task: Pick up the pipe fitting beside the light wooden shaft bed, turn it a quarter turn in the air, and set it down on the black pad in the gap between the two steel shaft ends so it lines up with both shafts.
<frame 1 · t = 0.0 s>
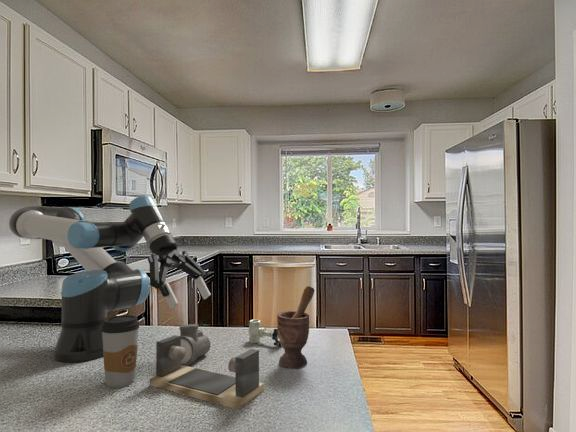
hand: (191, 301, 109), 15 cm above the countertop, fingers open, 13 cm apart
valve: (264, 344, 119), on the countertop
shaft bed: (205, 387, 87), on the countertop
coffee cup: (120, 383, 90), on the countertop
mortar and pestle: (296, 362, 103), on the countertop
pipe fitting: (192, 361, 104), on the countertop
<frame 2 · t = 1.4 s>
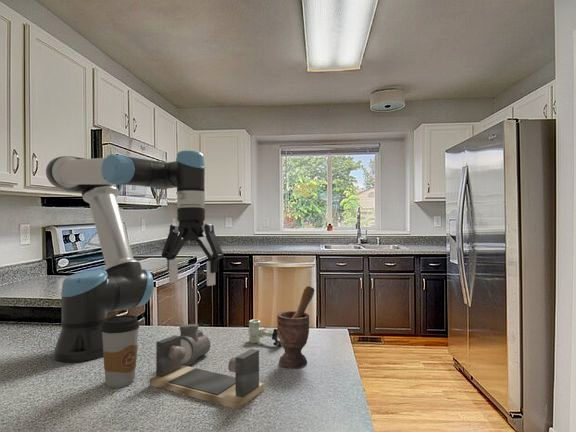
hand: (191, 283, 105), 21 cm above the countertop, fingers open, 13 cm apart
nothing on the countertop moved.
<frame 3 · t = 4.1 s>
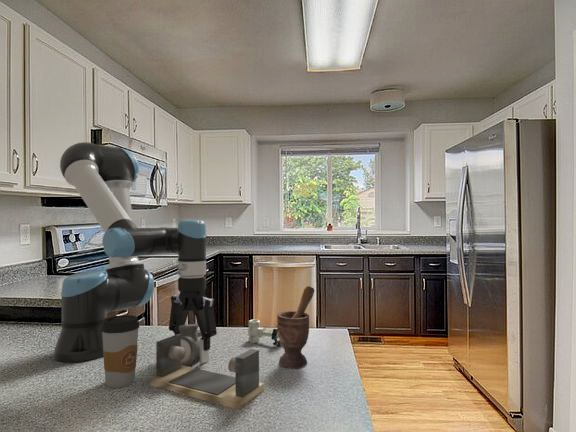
hand: (192, 359, 104), 0 cm above the countertop, fingers closed on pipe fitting, 8 cm apart
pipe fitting: (191, 361, 104), on the countertop, touching gripper
everything else where it was.
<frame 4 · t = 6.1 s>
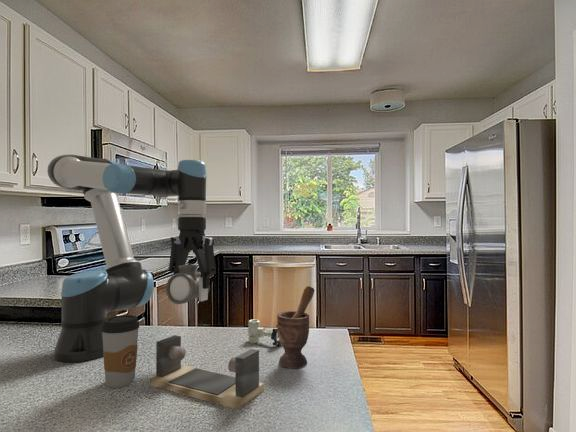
hand: (191, 298, 105), 17 cm above the countertop, fingers closed on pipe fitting, 7 cm apart
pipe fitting: (190, 301, 105), point 16 cm above the countertop, touching gripper
everything else where it was.
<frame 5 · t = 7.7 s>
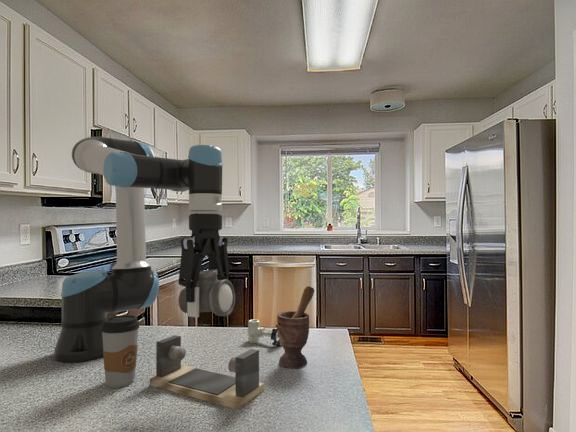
hand: (205, 312, 87), 17 cm above the countertop, fingers closed on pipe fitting, 7 cm apart
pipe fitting: (205, 315, 87), point 17 cm above the countertop, touching gripper
everything else where it was.
when the fingers open (3 cm above the countertop, at t = 10.7 s): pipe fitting drops 1 cm, resting on shaft bed.
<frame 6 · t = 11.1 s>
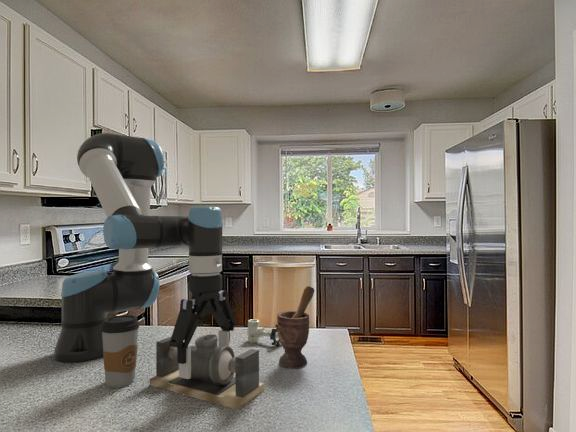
hand: (205, 367, 87), 5 cm above the countertop, fingers open, 13 cm apart
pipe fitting: (205, 381, 87), point 1 cm above the countertop, touching shaft bed
everything else where it was.
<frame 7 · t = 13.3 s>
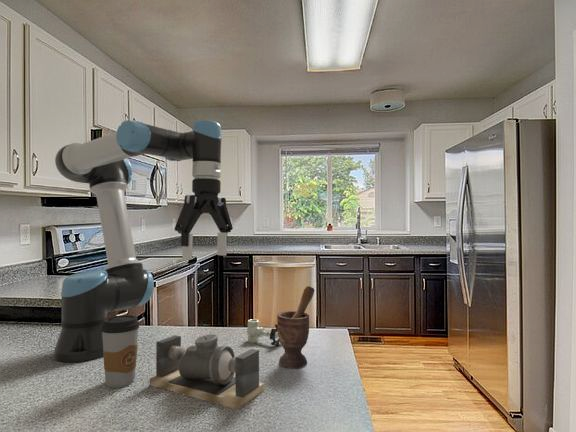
hand: (205, 257, 103), 28 cm above the countertop, fingers open, 13 cm apart
nothing on the countertop moved.
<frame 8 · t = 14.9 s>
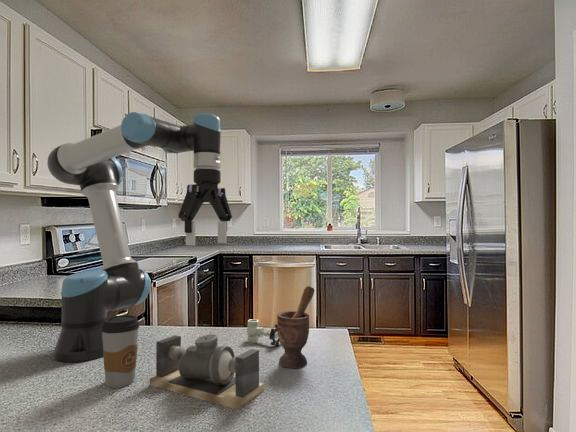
hand: (207, 244, 108), 32 cm above the countertop, fingers open, 13 cm apart
nothing on the countertop moved.
at the end: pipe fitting 0.1 cm off-centre on the shaft bed, point 1.5 cm above the shaft bed's base; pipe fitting tilted 0°; the gripper is holding nothing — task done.
